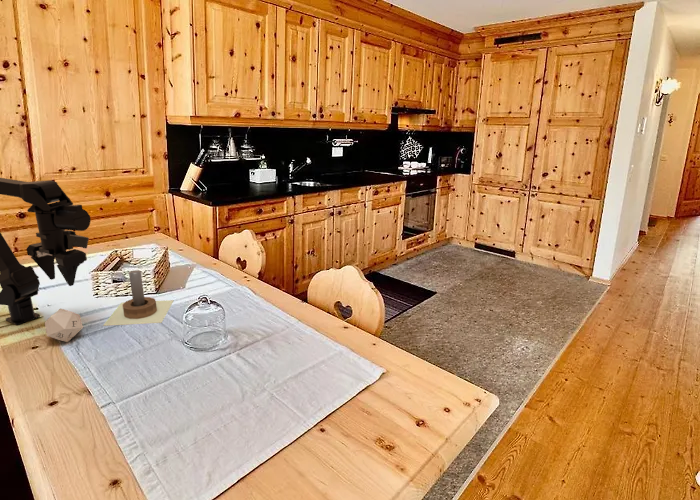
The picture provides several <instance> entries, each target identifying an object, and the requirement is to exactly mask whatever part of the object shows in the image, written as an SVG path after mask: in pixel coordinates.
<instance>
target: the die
mask: <svg viewBox="0 0 700 500" xmlns="http://www.w3.org/2000/svg"><path fill="white" fill-rule="evenodd" d="M44 327H45V334H46V336H47V337H49V338H52V339H55V340H59V341H62V342H65V343H69V342H70V341H71V339H73V338H74V337H75V336H76V335H77V334H78V333H79V332H80V331H81V330H83V328H84V326H83V322H82V318H81V315H80V314H78V313H76V312H74V311H71V310H67V309H64V308H59V309H58V310H56V311H55V312H54V313H53V314H51V316H50V317H48V318H47V319H46V320H45V322H44Z"/></svg>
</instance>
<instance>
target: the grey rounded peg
mask: <svg viewBox="0 0 700 500" xmlns="http://www.w3.org/2000/svg"><path fill="white" fill-rule="evenodd" d="M128 276H129V283H130V290H131V297H132V298H131V299H133V304H134V307H138V306H143V305H145V298H144V297H145V292H144V285H143V279H142V278H143V277H142V271H141V270H138V269H137V270H131V271H129V272H128Z"/></svg>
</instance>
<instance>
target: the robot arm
mask: <svg viewBox="0 0 700 500" xmlns="http://www.w3.org/2000/svg"><path fill="white" fill-rule="evenodd" d="M1 195H3V196H7V197H9V196H10V197H16V198H20V199H21V200H22V201H23V202H25V203H27V204H30V205H31V206H29V208H28V209H27V210H26V211H27V212H28V213H34V215H35V219H36V225H37V230H38V232H36V233H35V236H36V237H37V238H40V242H36V243H31V244H29V245H28V246H27V247H26V254H27V256H29V257H30V258H31V260H33V261H34V262H35V263H36V265H37V266H38V268H40V269H41V270H42V271H43V273H44V274H45V275H46V276H47V278H49V280H55V278H56V270H55V269H56V267H57V269H58V270H59V272H60V273H61V275H62V277H63V279H64V280H65V282H66V283H67V285H68V286H69V287H72V286H75V281H76V280H75V279H76V276H77V270H78V268H79V266H80V265H81V264H84V263H85V262H86V261H87V260H88V258H87V253H86V252H84V251H83V250H79V249H75V248H83V249H87V248H88V245H89V244H88V243H89V240H90V239H89V238H90V237H88V236H83V235H80V234H79V235H78V234H77V233H76V232H75V231H78V232H79V231H80V232H83V231H86V230H88V228H89V227H90V226H91V225H90V224H91V215H90V214H89V213H88V211H87V210H86V209H84V208H83V205H82V204H74V203H73V201H72V200H71V199H70V197H69V196H68V195H67V194H66V193H65V191H64V190H63V189H62V188H61V187H60V185H59V184H58V182H56V181H55V180H52V179H51V180H49V179H48V180H36V181H35V180H34V181H24V180H18V179H17V180H16V179H11V178H5V177H0V196H1ZM74 247H75V248H74ZM55 262H56V263H57V265H55ZM55 266H56V267H55ZM39 278H40V276H39V275H38V274H37V273H36V272H35V269H34V268H33V267H32V266H31V265H29V266H25V265H23V264H21V263H20V262H19V260H18V258H17V257H16V255H15V253H14V252H13V250H12V248H11V247H10V245H9V243H8V242H7V240H6V239H5V238H4V236H3V234H2V232H0V287H1V290H0V305H1V306H7V309H8V313H9V316H8V317H6V318H5V321H7V322H9V323H11V324H13V325H16V326H18V325H21V324H22V325H23V324H24V323H27V322H29V321H33V320H35V319H38V318H41V315H40V314H39V313H36V312H35V309H34V305H33V302H32V297H35V296H38V294H39V288H40V285H41V284H40V280H39Z"/></svg>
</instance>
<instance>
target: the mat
mask: <svg viewBox="0 0 700 500" xmlns="http://www.w3.org/2000/svg"><path fill="white" fill-rule="evenodd" d="M155 301H156V306H157V311H156V312H155V313H154V314H153V315H150V316H148V317H144V318H139V319H129V318H126V317H125V316H124V311H123V304H124V303H125V302H126V301H123V302H121V303H120V304H119V305H118V306H117V308H116V309H115V310H114V311H113V313H112V314H110V316H109V318H108V319H107V320H106V321H105V322H104V324H103V325H102V327H108V326H125V325H126V326H127V325H128V326H129V325H142V324H144V325H145V324H162V323H163V322H164V320H165V317H166V315H167V314H168V312H169V310H170V309H171V306H172V305H173V303H174V300H173V299H172V300H171V299H169V300H168V299H166V300H155Z"/></svg>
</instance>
